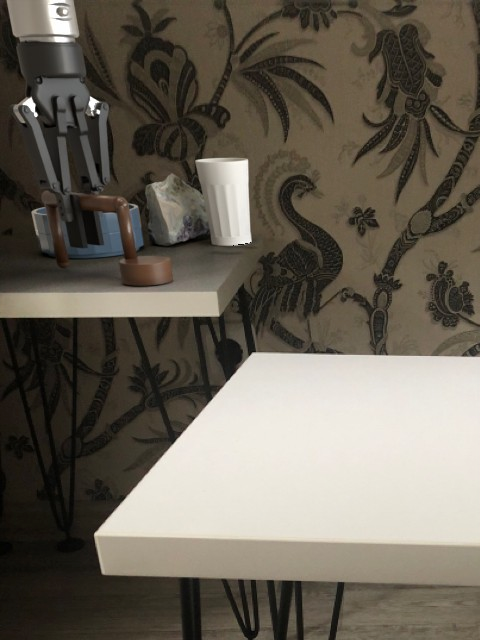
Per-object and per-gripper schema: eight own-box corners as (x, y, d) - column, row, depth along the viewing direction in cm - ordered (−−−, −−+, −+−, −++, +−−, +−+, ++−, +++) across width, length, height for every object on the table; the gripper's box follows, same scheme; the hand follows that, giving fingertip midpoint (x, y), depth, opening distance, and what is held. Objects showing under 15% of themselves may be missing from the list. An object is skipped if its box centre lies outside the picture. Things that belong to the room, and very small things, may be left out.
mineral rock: (215, 233, 156) (207, 168, 151) (236, 241, 148) (228, 173, 143) (139, 239, 150) (128, 172, 145) (157, 248, 142) (145, 178, 137)
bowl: (33, 261, 134) (23, 217, 131) (49, 245, 146) (40, 204, 143) (141, 256, 136) (133, 213, 133) (147, 240, 149) (141, 201, 146)
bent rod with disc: (183, 279, 120) (171, 196, 115) (145, 287, 116) (131, 202, 111) (78, 264, 130) (63, 187, 125) (39, 271, 126) (22, 192, 121)
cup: (267, 240, 148) (258, 158, 142) (233, 248, 142) (223, 162, 136) (230, 237, 152) (220, 157, 146) (195, 244, 146) (184, 161, 140)
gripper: (12, 38, 104) (57, 256, 116) (118, 41, 115) (149, 240, 127) (-28, 40, 107) (20, 251, 119) (79, 42, 118) (113, 236, 130)
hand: (87, 245), depth 123 cm, fingers closed on bent rod with disc, 2 cm apart
